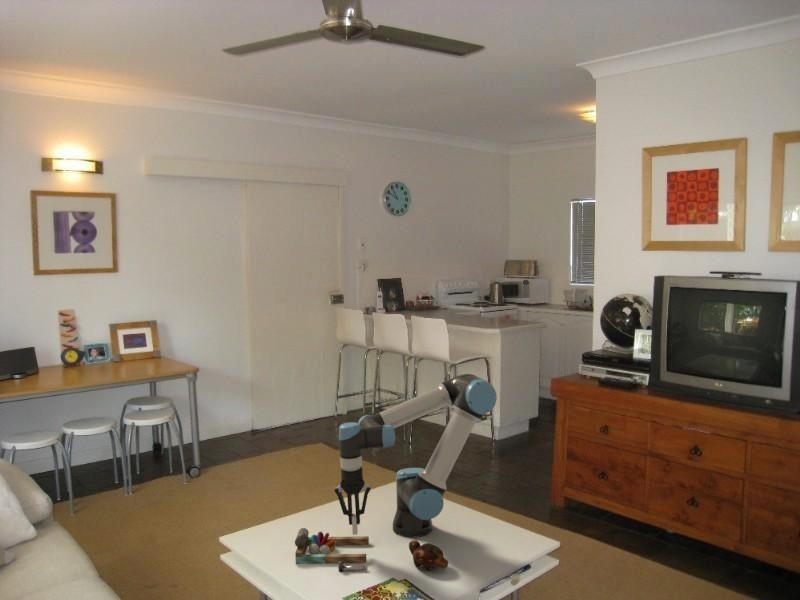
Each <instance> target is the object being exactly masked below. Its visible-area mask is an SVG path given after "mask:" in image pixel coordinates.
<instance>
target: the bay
mask: <svg viewBox="0 0 800 600" xmlns="http://www.w3.org/2000/svg"><path fill="white" fill-rule="evenodd" d="M329 538H334V539H335V542H336V546H335V547H341V546H344V547H345V546H347V547H348V546H349V547H352V546H353V547H354V546H356V547H358V546H360V547H361V546H369V543H370V540H369V539H370V537H369V536H366V535H365V536H357V535H355V536H329V537H328V539H329ZM311 542H312V541H311V536H309V530H308V529H307V528H306V527H302V528H300V529H299V530H298V532H297V535H296V538H295V541H294V545H295V547H296V550H295V565H338V562H339V561H343V562H344V565H350V564H353V565H354V564H355V565H356V564H361V565H362V564H363V565H364V564H367V561H368V559H367V553H330V554H320V553H318V554H310V553H309V554H306V553H307V549H308V547H309V543H311Z"/></svg>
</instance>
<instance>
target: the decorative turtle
mask: <svg viewBox="0 0 800 600" xmlns="http://www.w3.org/2000/svg"><path fill="white" fill-rule="evenodd" d="M408 549H409V551H410V554H411V555H412V560H413V564H414V566H415V568H417V569H419V568H421V567H423V569H424V570H425V571H426V572H430V571H431V570H432V568H433V567H438V568H441V569H446V568H447V567H448V566H449V560H447V558H445V556H444V554H445V553H444V551H443V550H442V549H441V548H440V547H439V546H437V545H435V544H434V543H427V542H426V543H423V544H421V542H420V541H418V540H415V539H414V540H413V539H412V540H410V542H409V543H408Z"/></svg>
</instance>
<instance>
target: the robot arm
mask: <svg viewBox="0 0 800 600" xmlns="http://www.w3.org/2000/svg"><path fill="white" fill-rule="evenodd" d="M497 398H498V397H497V393H496V389H495V388H494V386H493V385H492V384H491V383H490V382H489V381H487V380H486V379H483V378H481V377H478V376H477V375H475V374H471V373H464V374H460V375H457V376H454V377H451V378H449V379H447V380H444V381H442V382H440V383H439V384H438V387H436V388H434V389H433V388H432V389H431V390H429V391H426V392H424V393H421V394H420V395H417V396H415V397H413V398H411V399H408V400H406V401H403V402H402V403H399V404H396V405H394V406H391V407H390V408H388V409H385V410H382V411H380V412H378V413H375V414H373V415H370V414H366V415H363V416H360V418H359V420H358V422H356V421H355V422H349V421H348V422H344V423H342V424H340V425H339V427H338V444H339V461H340V476H341V477H340V478H341V479H340V480H341V481H340V484H339V485H338V486H335V487H334V492H335V494H336V496H337V498H338V500H339V505H340V507H341V508H340V509H341V511H342V514H343V515H345V516H348V524H349V526H352V527H351V528H352V529H351V531H352V535H353V536H357V535H358V533H359V532H358V525H360V524H361V515H364V514H365V510H366V506H367V500H368V495H369V493H370V492H371V490H372V489H371V488H372V486H371V485H370V484H366V482H365V480H364V474H363V473H364V471H363V457H362V455H363V454H362V450H363V451H364V450H365V451H366V450H371V449H380V448H381V449H382V448H388V447H392V446H394V445H395V442H396V433H395V429H396V428H399V427H401V426H402V425H405V424H407V423H409V422H412V421H414V420H416V419H419V418H420V417H423V416H425V415H428V414H430V413H432V412H435V411H437V410H439V409H441V408H444V407H446V406H447V407H449V408H450V407H453V413H452V415H451V417H450V419H449V421H448V422H447V425H446V426H445V429H444V431H443V432H442V435H441V437H440V439H439V440H438V443H437V445H436V447H435V449H434V450H433V453H432V454H431V456H430V458H429V460H428V463H427V465H426V467H425V468H421V467H408V468H407V467H406V468H402V469H400V470H398V471H397V472H396V478H395V481H396V510H395V511H396V512H395V514H394V518H393V521H392V531H393V533H395V534H397V535H399V536H401V537H410V538H414V537H415V538H417V537H422V536H426V535H429V534H430V533H431V532H432V531H433V521H432V519H435V518H436V517H437V516H439V515H440V513H441V512H442V511H443V508H444V504H445V502H444V495H445V493H446V490H447V489H448V488H447V484H446V482H447V480H448V478H449V476H450V473H451V472H452V470H453V468H454V466H455V463H456V462H457V459H458V458H459V456H460V454H461V451H462V450H463V448H464V446H465V444H466V442H467V440H468V438H469V436H470V434H471V432H472V430H473V429H474V427H475V424H476V423H479V422H481V421H482V420H483V418H484V416H485V414H488V413H490V412H491V411H492V410H493V409H494V408H495V406H496V403H497ZM362 489H363V491H364V493H363V498H362V499H363V500H362V504H361V505H362V506H361V507H360V497H359V496H360V495H359V494H360V493H361V491H362ZM343 491H344V492H345V494H346V498H347V505H346V503H345V499H344V496H343V493H342V492H343ZM352 495H354V505H355V506H354V507H355V513H353V499H352Z"/></svg>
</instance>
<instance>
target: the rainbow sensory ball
mask: <svg viewBox="0 0 800 600" xmlns="http://www.w3.org/2000/svg"><path fill="white" fill-rule="evenodd" d="M310 537H311V541H312V542H311V543H309V546H308V552H309V554H331V553H333V552H335V550H336V547H337V546H336V542H335V539H334V538H329V539H328V537H330V533H329V532H326V533H325V534H324V533H323V532H322V531H318V532H317V534H312V535H311V536H310Z"/></svg>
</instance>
